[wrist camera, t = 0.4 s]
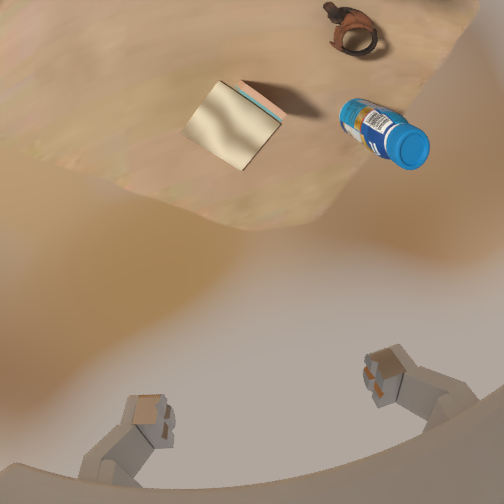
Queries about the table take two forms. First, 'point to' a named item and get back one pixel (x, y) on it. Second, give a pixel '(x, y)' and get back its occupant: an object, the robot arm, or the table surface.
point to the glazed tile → (260, 100)
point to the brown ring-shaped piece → (349, 27)
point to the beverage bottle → (385, 133)
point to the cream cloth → (230, 126)
